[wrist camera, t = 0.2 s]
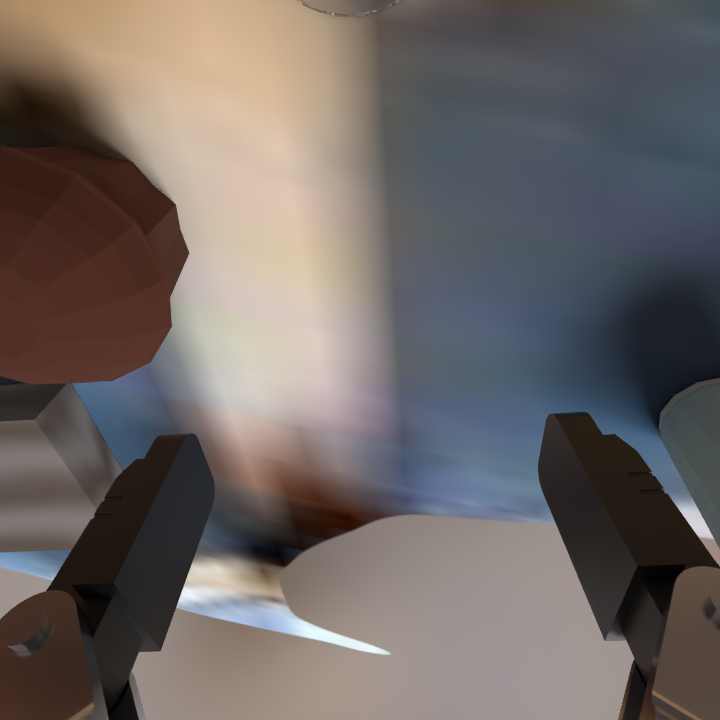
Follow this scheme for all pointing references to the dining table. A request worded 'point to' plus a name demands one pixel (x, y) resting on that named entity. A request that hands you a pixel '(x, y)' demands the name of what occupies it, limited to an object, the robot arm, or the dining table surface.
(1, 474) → the plinth
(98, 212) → the muffin
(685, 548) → the robot arm
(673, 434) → the disposable coffee cup
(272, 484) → the dining table surface
